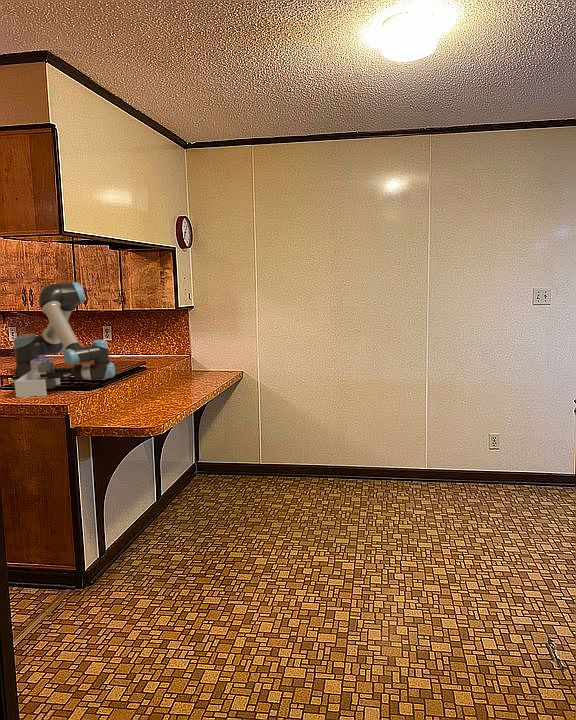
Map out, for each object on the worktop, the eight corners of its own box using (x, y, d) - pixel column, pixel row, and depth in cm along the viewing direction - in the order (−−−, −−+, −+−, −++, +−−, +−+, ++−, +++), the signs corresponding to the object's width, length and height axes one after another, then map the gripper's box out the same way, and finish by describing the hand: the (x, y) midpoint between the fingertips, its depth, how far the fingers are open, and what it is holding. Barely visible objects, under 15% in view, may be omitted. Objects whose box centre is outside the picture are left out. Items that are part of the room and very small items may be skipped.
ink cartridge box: (54, 380, 338) (51, 354, 335) (48, 383, 332) (45, 356, 329) (38, 380, 340) (35, 354, 337) (32, 383, 334) (28, 356, 331)
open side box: (32, 385, 328) (30, 370, 326) (60, 384, 329) (58, 369, 327) (16, 397, 304) (14, 381, 303) (46, 396, 305) (44, 380, 304)
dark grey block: (44, 386, 319) (41, 363, 317) (56, 385, 319) (53, 362, 317) (40, 389, 313) (37, 365, 311) (52, 388, 313) (49, 364, 311)
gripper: (79, 383, 307) (30, 386, 306) (88, 374, 326) (43, 377, 325) (77, 368, 306) (29, 371, 304) (86, 360, 324) (41, 363, 323)
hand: (36, 374), depth 315 cm, fingers closed on dark grey block, 6 cm apart
